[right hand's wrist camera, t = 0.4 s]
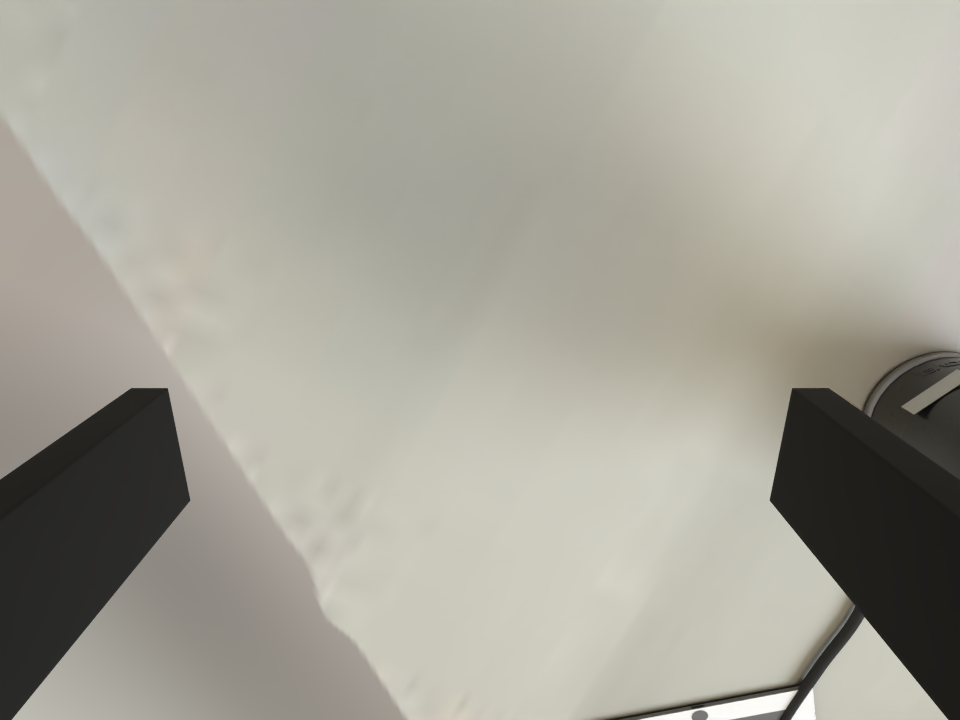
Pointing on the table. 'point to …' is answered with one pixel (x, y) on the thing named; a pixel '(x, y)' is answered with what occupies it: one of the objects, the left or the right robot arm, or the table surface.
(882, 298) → the table surface
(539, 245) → the table surface
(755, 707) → the tablet
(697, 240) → the table surface
